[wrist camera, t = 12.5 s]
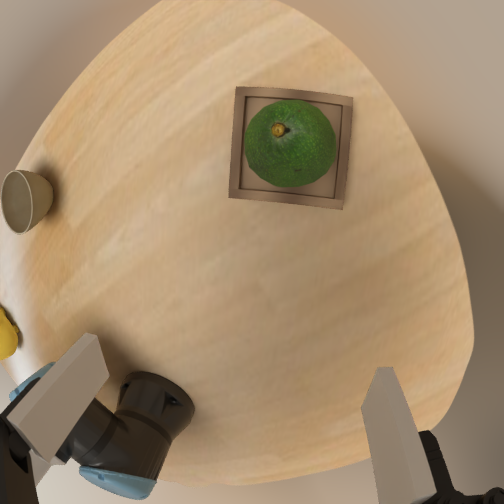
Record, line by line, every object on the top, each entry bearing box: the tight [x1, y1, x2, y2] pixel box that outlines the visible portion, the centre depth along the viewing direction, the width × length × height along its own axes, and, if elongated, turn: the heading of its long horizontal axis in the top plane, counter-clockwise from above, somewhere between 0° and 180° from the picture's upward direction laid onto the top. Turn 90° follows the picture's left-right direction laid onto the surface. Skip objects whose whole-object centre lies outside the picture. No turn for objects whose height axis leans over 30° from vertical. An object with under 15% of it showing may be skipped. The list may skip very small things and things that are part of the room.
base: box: [229, 87, 353, 210], centre depth 29 cm, size 12×12×4 cm
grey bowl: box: [1, 170, 53, 235], centre depth 34 cm, size 10×10×7 cm
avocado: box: [244, 100, 337, 187], centre depth 22 cm, size 8×8×12 cm
